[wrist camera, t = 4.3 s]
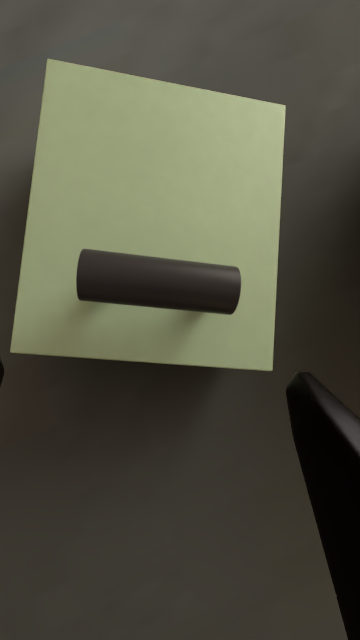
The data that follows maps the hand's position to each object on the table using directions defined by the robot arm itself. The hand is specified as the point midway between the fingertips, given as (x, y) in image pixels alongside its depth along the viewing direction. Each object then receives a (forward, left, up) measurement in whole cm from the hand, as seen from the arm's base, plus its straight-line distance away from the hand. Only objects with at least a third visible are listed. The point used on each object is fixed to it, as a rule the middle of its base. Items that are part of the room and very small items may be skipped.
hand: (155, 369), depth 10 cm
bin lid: (+3, +6, -5) cm, 8 cm away
